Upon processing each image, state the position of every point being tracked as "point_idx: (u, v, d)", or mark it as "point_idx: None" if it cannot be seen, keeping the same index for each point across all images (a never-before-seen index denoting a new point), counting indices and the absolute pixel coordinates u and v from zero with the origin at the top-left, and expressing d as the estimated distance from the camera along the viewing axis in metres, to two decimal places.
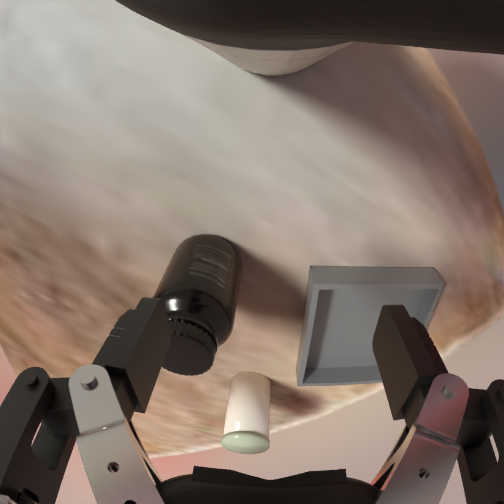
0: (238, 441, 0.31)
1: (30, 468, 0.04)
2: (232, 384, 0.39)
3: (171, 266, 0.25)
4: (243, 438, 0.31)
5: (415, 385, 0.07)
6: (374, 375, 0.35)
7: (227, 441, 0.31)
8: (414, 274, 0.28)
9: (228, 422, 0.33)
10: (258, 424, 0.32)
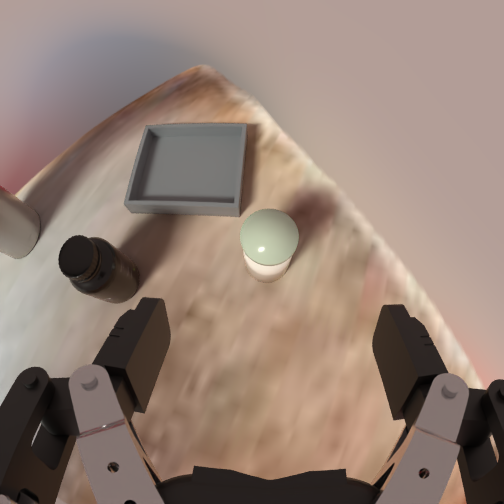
0: (254, 242, 0.30)
1: (30, 468, 0.04)
2: (253, 276, 0.38)
3: None
4: (245, 235, 0.31)
5: (415, 385, 0.07)
6: None
7: (256, 255, 0.30)
8: None
9: (251, 262, 0.32)
10: None
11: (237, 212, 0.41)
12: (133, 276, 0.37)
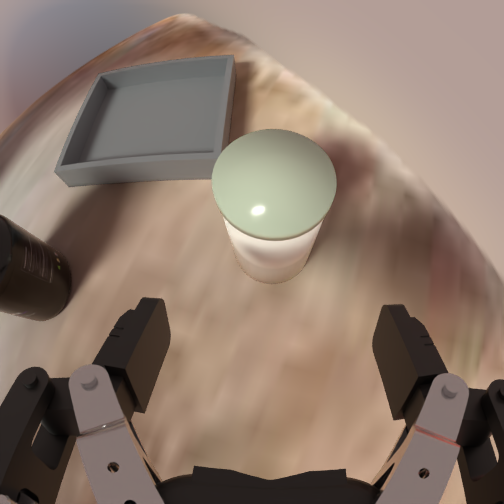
0: (243, 190, 0.14)
1: (30, 468, 0.04)
2: (249, 272, 0.21)
3: None
4: (222, 179, 0.14)
5: (415, 385, 0.07)
6: None
7: (247, 216, 0.13)
8: None
9: (238, 238, 0.16)
10: None
11: None
12: (56, 278, 0.21)
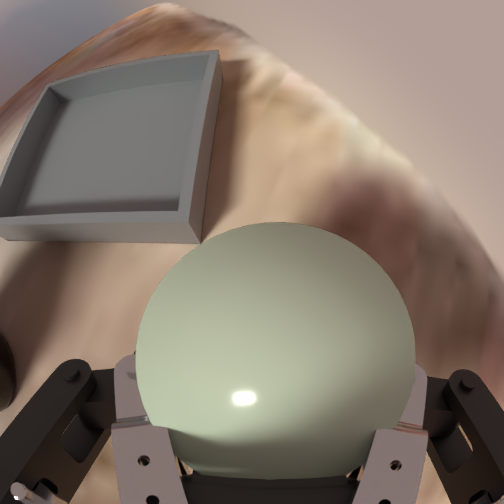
0: (204, 397, 0.05)
1: (55, 460, 0.05)
2: None
3: None
4: (158, 361, 0.06)
5: None
6: None
7: (214, 459, 0.05)
8: None
9: None
10: None
11: (191, 234, 0.16)
12: None
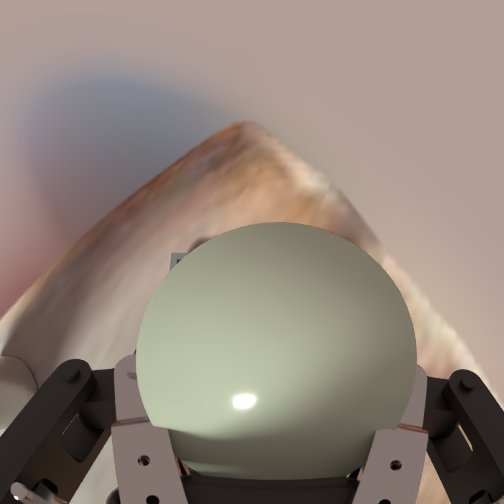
0: (205, 398, 0.05)
1: (55, 460, 0.05)
2: None
3: None
4: (159, 362, 0.06)
5: None
6: None
7: (215, 459, 0.05)
8: None
9: None
10: None
11: None
12: None
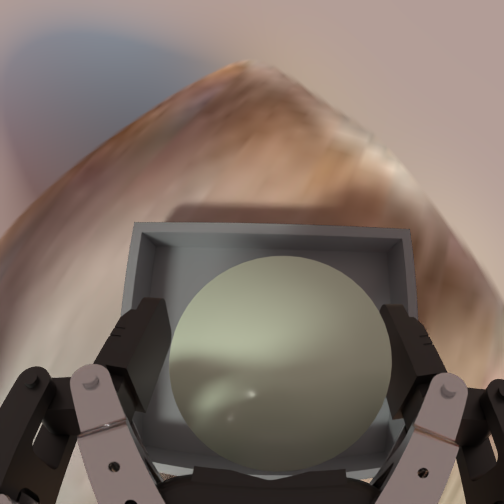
0: (225, 394, 0.07)
1: (31, 468, 0.04)
2: None
3: None
4: (188, 367, 0.07)
5: (414, 384, 0.07)
6: (401, 296, 0.16)
7: (232, 443, 0.07)
8: None
9: None
10: None
11: None
12: None
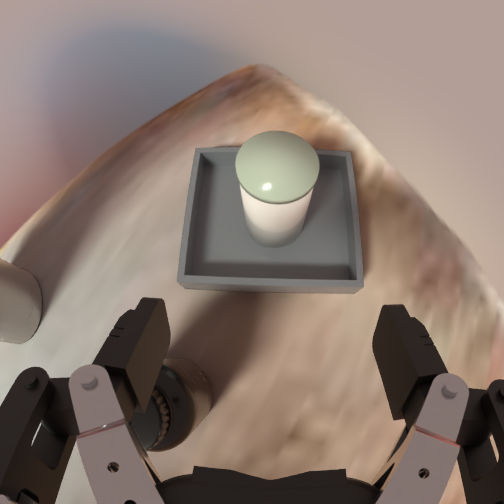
0: (256, 171, 0.20)
1: (30, 468, 0.04)
2: (257, 237, 0.28)
3: None
4: (242, 163, 0.21)
5: (415, 385, 0.07)
6: (347, 186, 0.29)
7: (259, 187, 0.20)
8: None
9: (252, 205, 0.22)
10: None
11: (356, 290, 0.26)
12: (209, 398, 0.23)
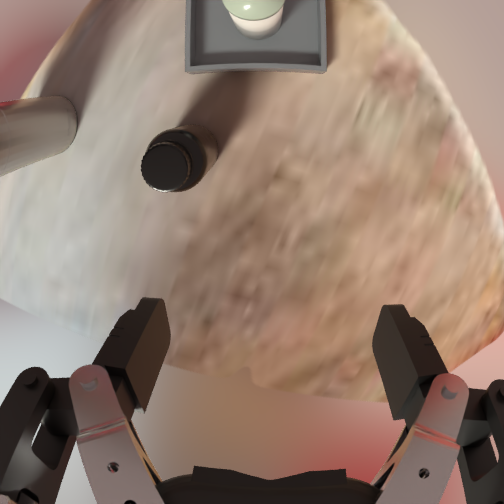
0: None
1: (30, 468, 0.04)
2: (243, 34, 0.29)
3: None
4: None
5: (415, 385, 0.07)
6: None
7: (240, 11, 0.21)
8: None
9: (236, 19, 0.23)
10: None
11: (322, 72, 0.31)
12: (215, 150, 0.35)
